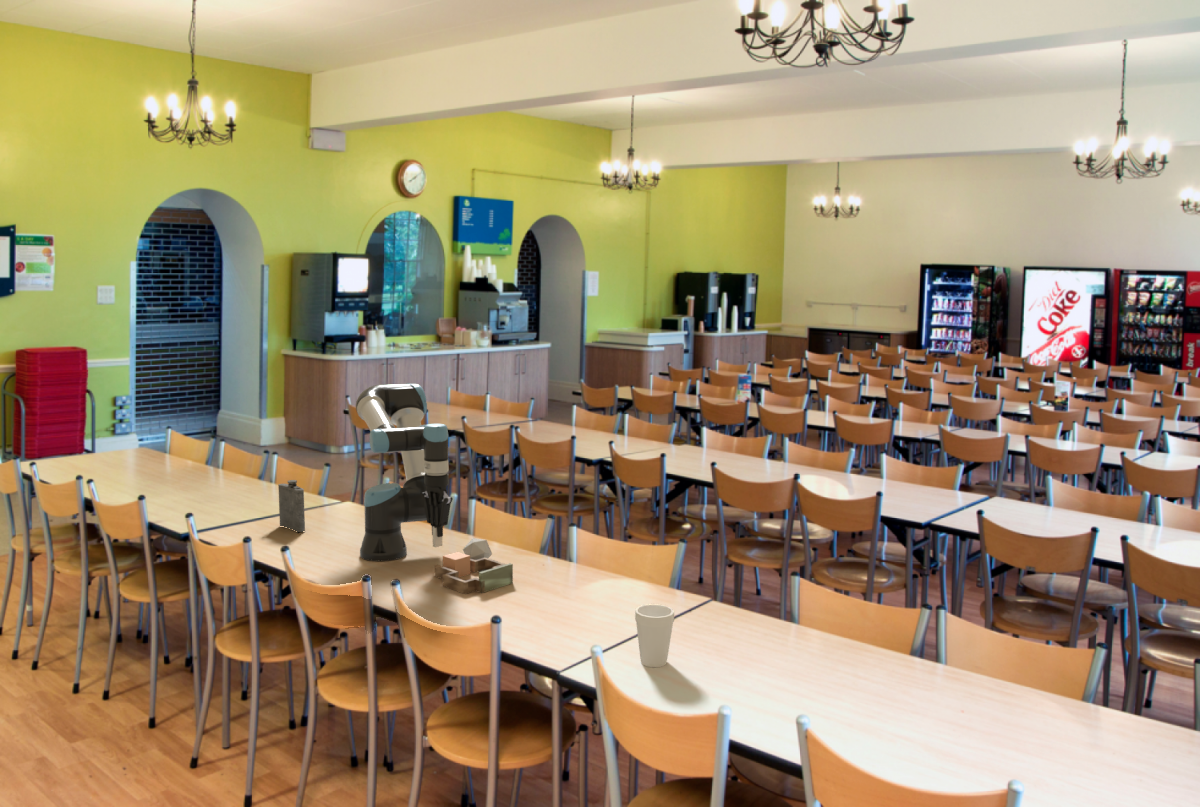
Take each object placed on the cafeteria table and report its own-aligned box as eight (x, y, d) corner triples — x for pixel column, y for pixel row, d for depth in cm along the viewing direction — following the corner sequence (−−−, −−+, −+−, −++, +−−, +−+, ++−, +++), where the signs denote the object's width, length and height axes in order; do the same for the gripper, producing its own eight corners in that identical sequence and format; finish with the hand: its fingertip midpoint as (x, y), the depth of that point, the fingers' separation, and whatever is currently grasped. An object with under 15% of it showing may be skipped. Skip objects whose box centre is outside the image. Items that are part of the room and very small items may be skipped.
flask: (287, 524, 351) (285, 476, 348) (308, 531, 342) (307, 482, 339) (278, 526, 348) (276, 478, 346) (299, 533, 339) (297, 484, 336)
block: (442, 574, 296) (442, 555, 295) (458, 570, 300) (457, 551, 299) (455, 578, 292) (455, 559, 291) (470, 574, 296) (470, 555, 295)
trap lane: (424, 579, 290) (424, 560, 289) (475, 564, 305) (475, 546, 304) (471, 596, 276) (471, 576, 275) (522, 580, 291) (522, 561, 290)
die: (496, 563, 309) (487, 536, 313) (491, 557, 301) (482, 530, 305) (472, 572, 309) (464, 545, 312) (467, 567, 301) (458, 539, 304)
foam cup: (632, 654, 235) (633, 604, 233) (669, 653, 236) (670, 603, 234) (637, 670, 226) (638, 618, 224) (675, 669, 226) (676, 617, 225)
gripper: (414, 472, 299) (415, 544, 302) (440, 477, 291) (441, 552, 294) (433, 468, 305) (434, 540, 308) (459, 474, 296) (459, 547, 299)
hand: (437, 546), depth 301 cm, fingers closed
